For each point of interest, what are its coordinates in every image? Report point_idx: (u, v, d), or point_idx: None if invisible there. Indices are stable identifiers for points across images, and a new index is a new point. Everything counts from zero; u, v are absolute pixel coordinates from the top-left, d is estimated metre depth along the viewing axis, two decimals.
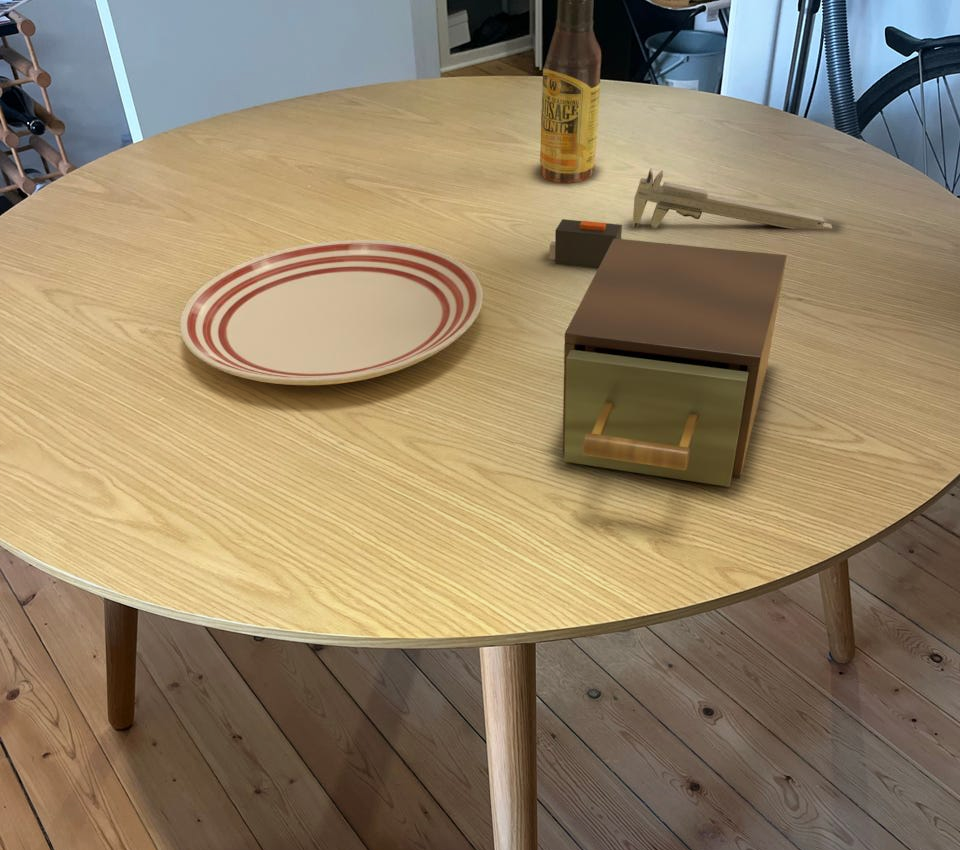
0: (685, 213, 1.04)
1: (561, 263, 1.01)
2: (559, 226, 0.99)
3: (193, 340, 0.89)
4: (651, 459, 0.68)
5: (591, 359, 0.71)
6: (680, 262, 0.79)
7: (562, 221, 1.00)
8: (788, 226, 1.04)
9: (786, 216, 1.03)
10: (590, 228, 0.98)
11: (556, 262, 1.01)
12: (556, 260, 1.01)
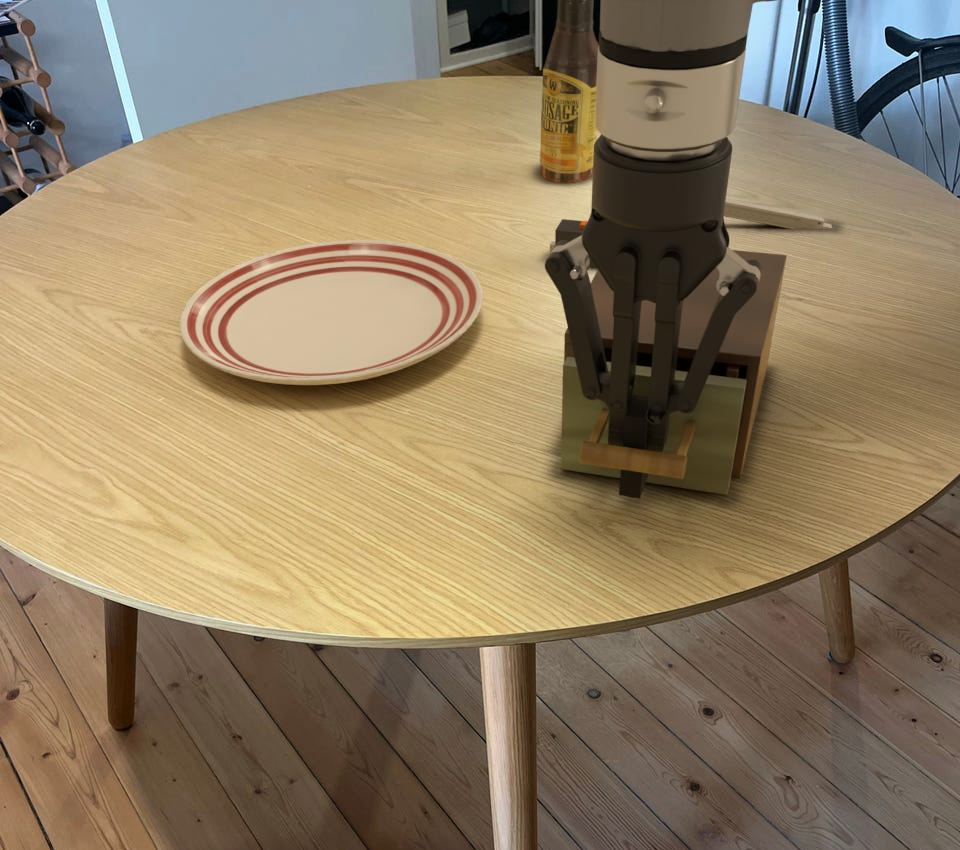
0: None
1: None
2: (559, 226, 0.99)
3: (193, 340, 0.89)
4: (648, 468, 0.67)
5: None
6: None
7: (562, 221, 1.00)
8: (788, 226, 1.04)
9: (786, 216, 1.03)
10: None
11: None
12: None
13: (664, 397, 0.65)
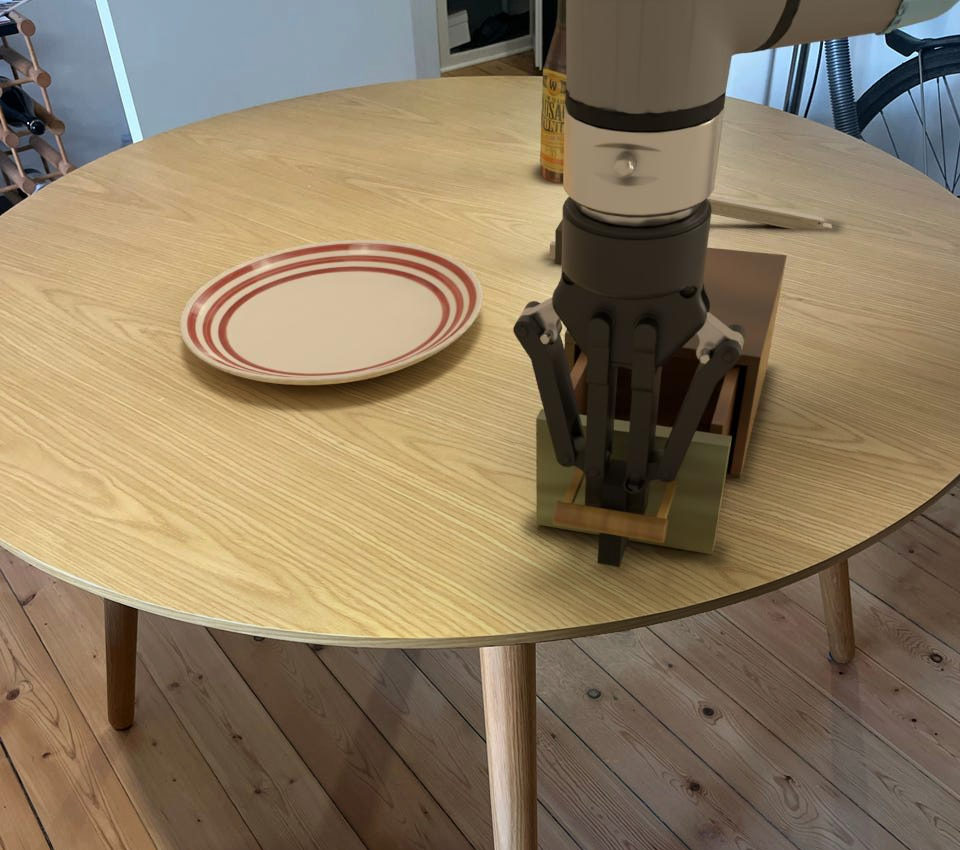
0: None
1: (561, 263, 1.01)
2: (559, 226, 0.99)
3: (193, 340, 0.89)
4: (626, 532, 0.63)
5: None
6: None
7: None
8: (788, 226, 1.04)
9: (786, 216, 1.03)
10: None
11: (556, 262, 1.01)
12: (556, 260, 1.01)
13: (643, 465, 0.61)
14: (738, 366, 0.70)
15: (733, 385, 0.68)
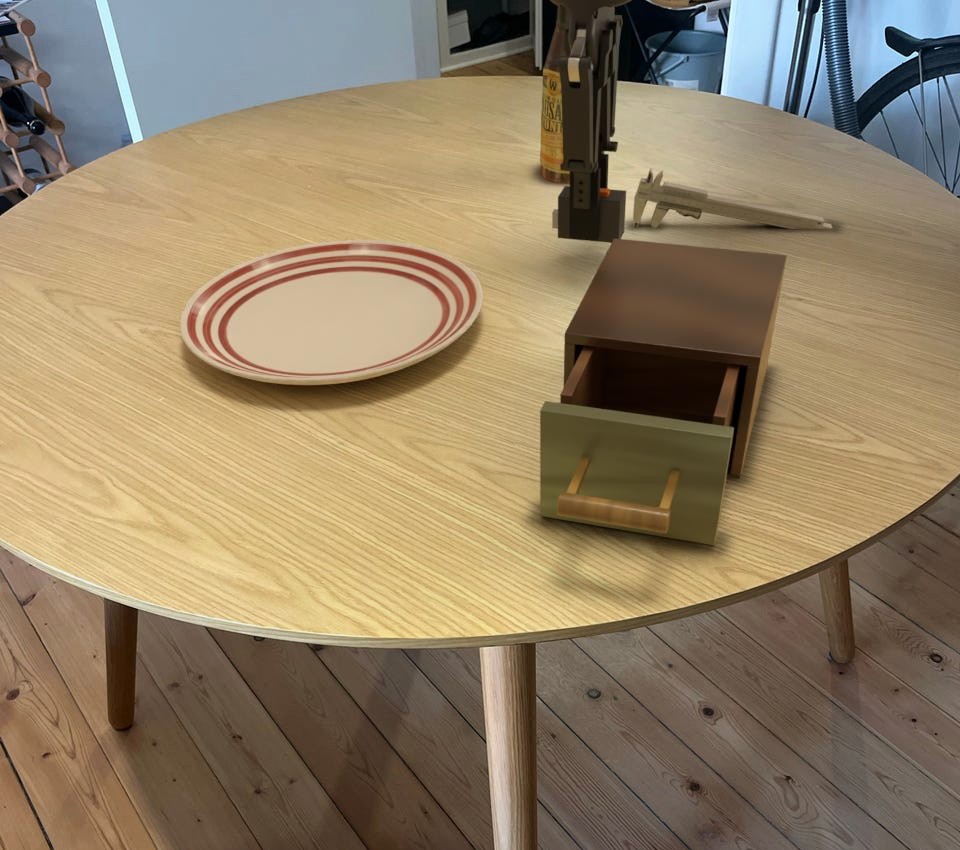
0: (685, 213, 1.04)
1: (564, 231, 0.98)
2: (562, 193, 0.97)
3: (193, 340, 0.89)
4: (629, 522, 0.63)
5: (566, 412, 0.66)
6: (680, 262, 0.79)
7: (565, 188, 0.98)
8: (788, 226, 1.04)
9: (786, 216, 1.04)
10: None
11: (559, 230, 0.98)
12: (559, 228, 0.98)
13: (609, 131, 0.95)
14: None
15: (735, 377, 0.69)
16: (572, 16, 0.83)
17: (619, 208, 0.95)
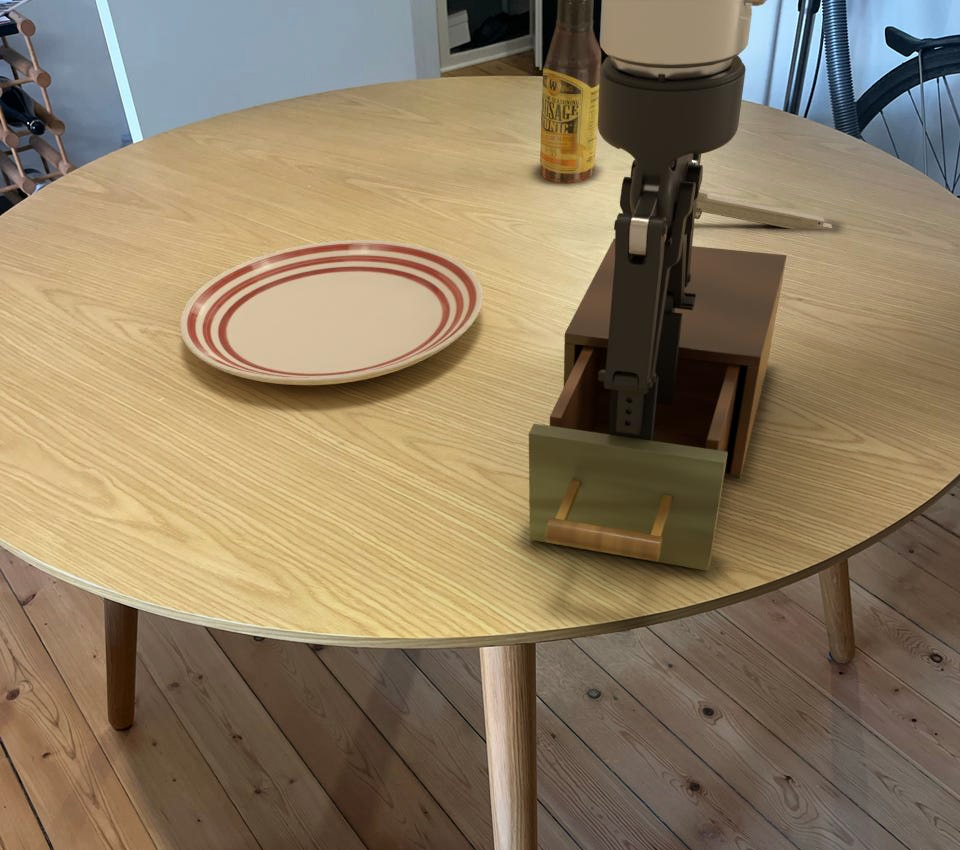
0: None
1: None
2: None
3: (193, 340, 0.89)
4: (620, 549, 0.62)
5: (555, 436, 0.65)
6: None
7: None
8: (788, 226, 1.04)
9: (786, 216, 1.04)
10: None
11: None
12: None
13: (684, 283, 0.66)
14: (734, 379, 0.69)
15: (729, 399, 0.67)
16: (637, 166, 0.54)
17: None
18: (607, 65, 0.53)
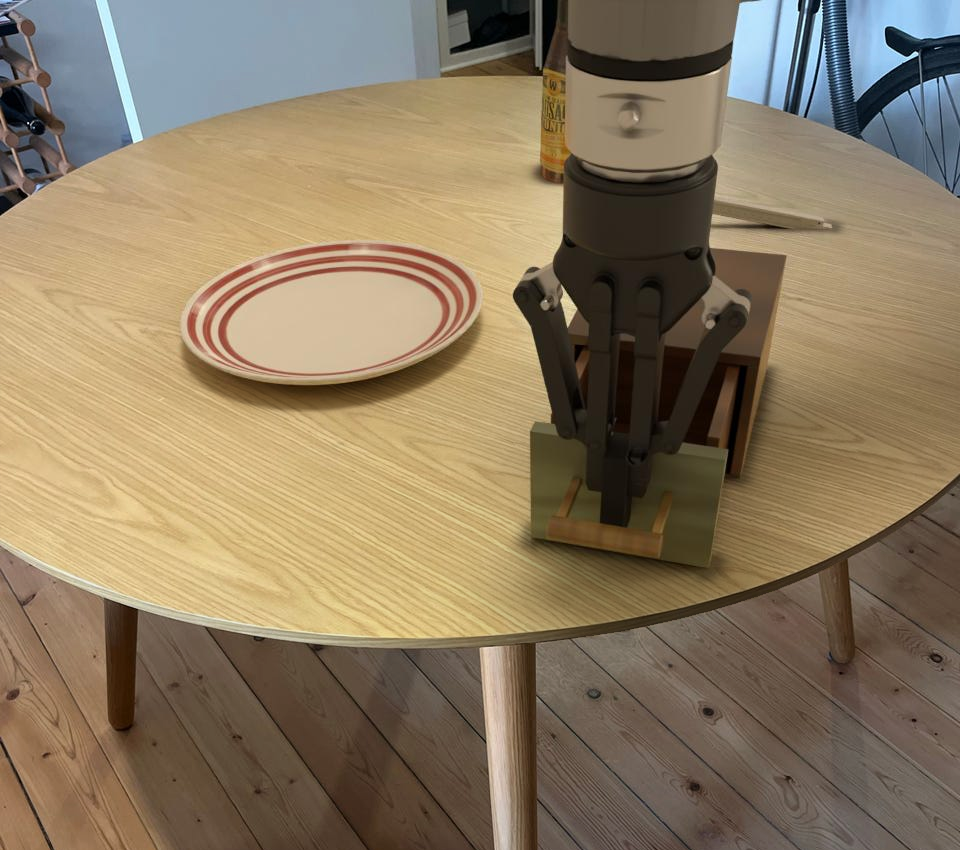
0: None
1: None
2: None
3: (193, 340, 0.89)
4: (621, 546, 0.62)
5: (556, 433, 0.65)
6: None
7: None
8: (788, 226, 1.04)
9: (786, 216, 1.04)
10: None
11: None
12: None
13: (646, 437, 0.60)
14: (735, 377, 0.69)
15: (730, 397, 0.67)
16: None
17: None
18: None
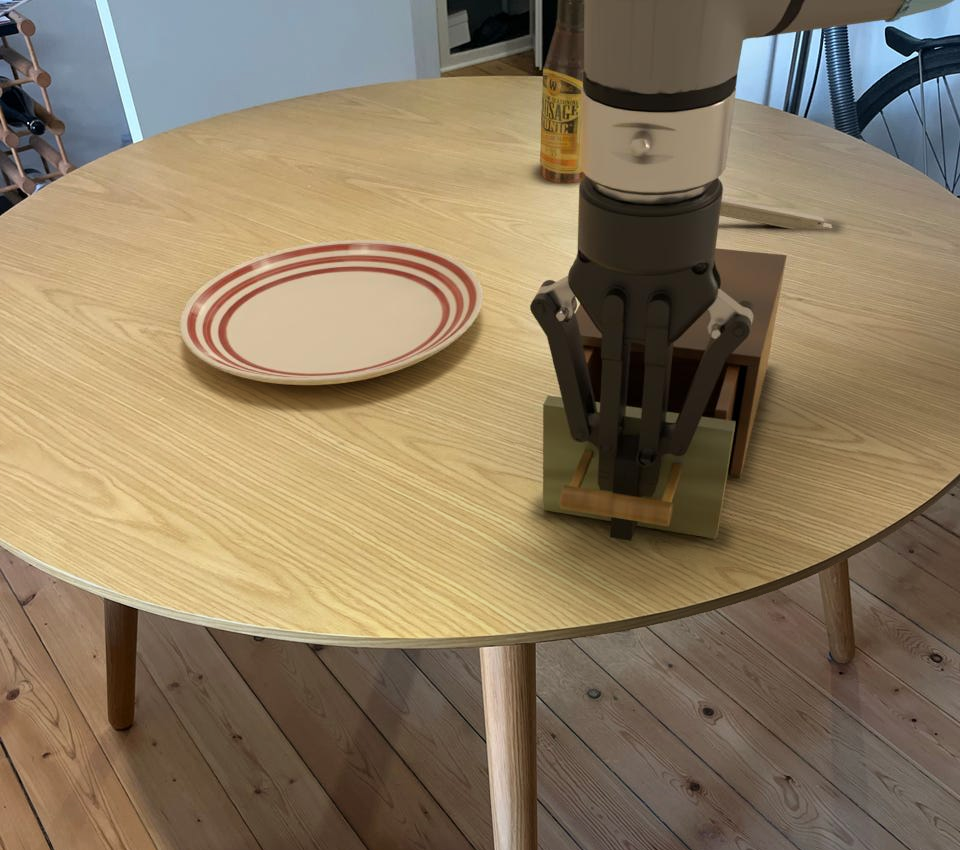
0: None
1: None
2: None
3: (193, 340, 0.89)
4: (632, 515, 0.64)
5: None
6: None
7: None
8: (788, 226, 1.04)
9: (786, 216, 1.04)
10: None
11: None
12: None
13: (655, 440, 0.63)
14: None
15: (737, 372, 0.69)
16: None
17: None
18: None
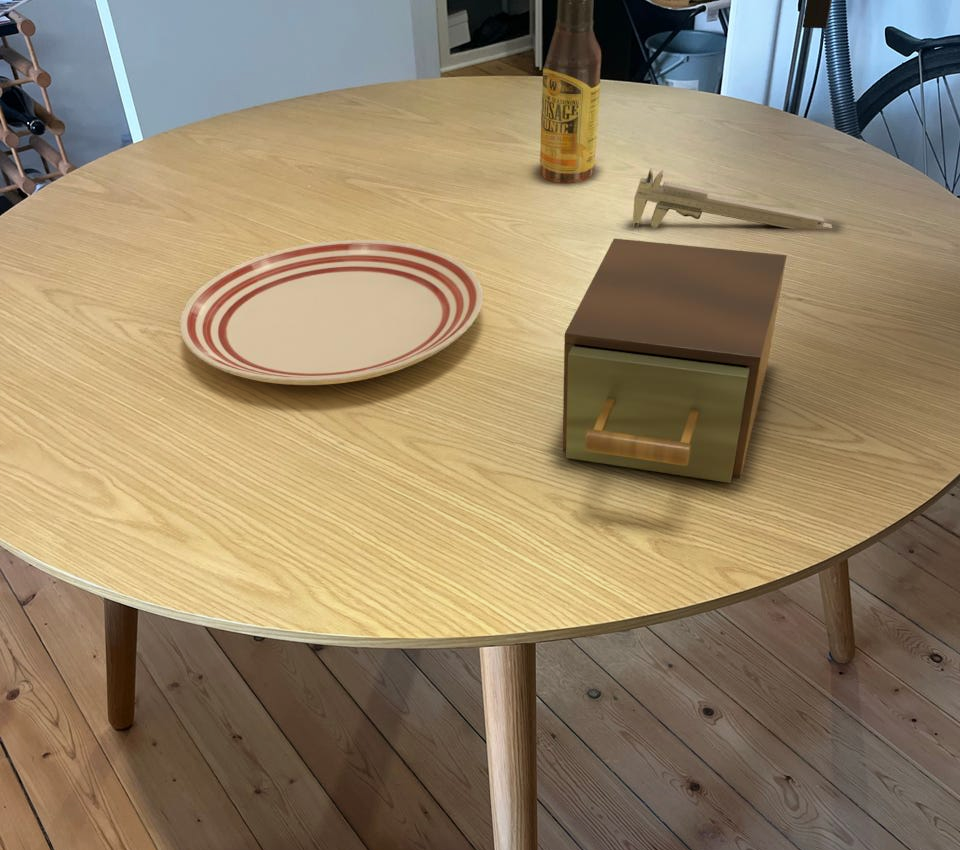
0: (685, 213, 1.04)
1: None
2: None
3: (193, 340, 0.89)
4: (652, 455, 0.68)
5: (592, 356, 0.71)
6: (680, 262, 0.79)
7: None
8: (788, 226, 1.04)
9: (786, 216, 1.04)
10: None
11: None
12: None
13: None
14: None
15: None
16: None
17: None
18: None
